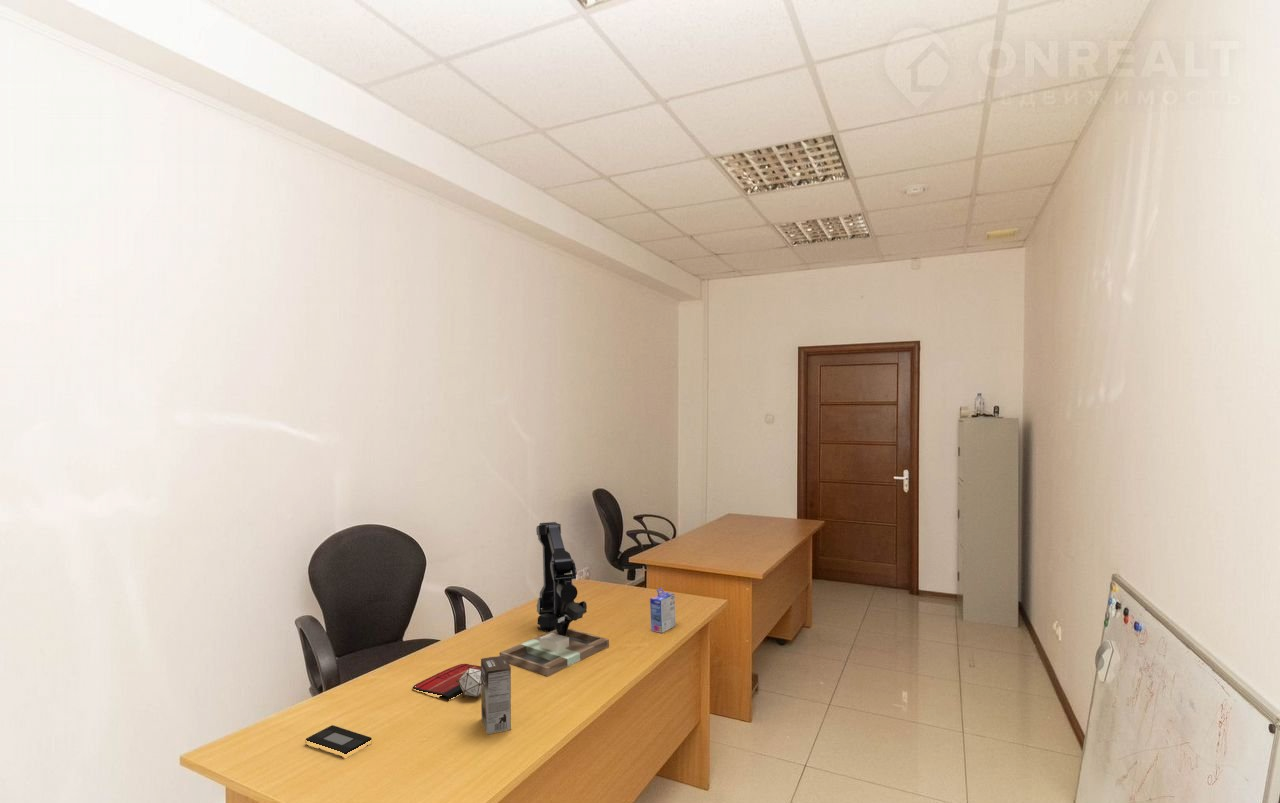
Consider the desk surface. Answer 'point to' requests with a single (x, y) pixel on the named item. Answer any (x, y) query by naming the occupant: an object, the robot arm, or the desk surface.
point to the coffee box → (496, 694)
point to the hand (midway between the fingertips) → (562, 639)
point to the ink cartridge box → (662, 611)
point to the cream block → (554, 642)
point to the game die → (471, 682)
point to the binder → (445, 681)
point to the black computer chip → (339, 739)
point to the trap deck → (551, 661)
